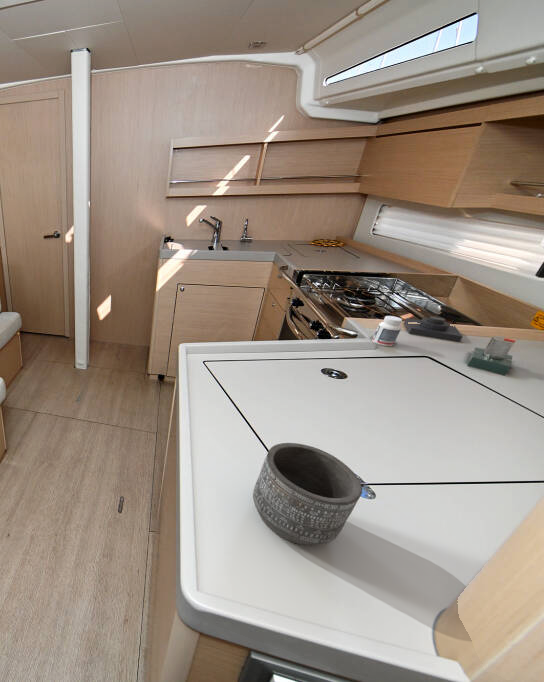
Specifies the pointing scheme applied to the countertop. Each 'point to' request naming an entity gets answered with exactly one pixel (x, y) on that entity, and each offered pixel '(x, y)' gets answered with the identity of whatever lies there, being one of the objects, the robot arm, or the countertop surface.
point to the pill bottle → (387, 331)
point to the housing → (433, 330)
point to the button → (436, 320)
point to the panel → (489, 362)
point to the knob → (498, 347)
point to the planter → (305, 493)
